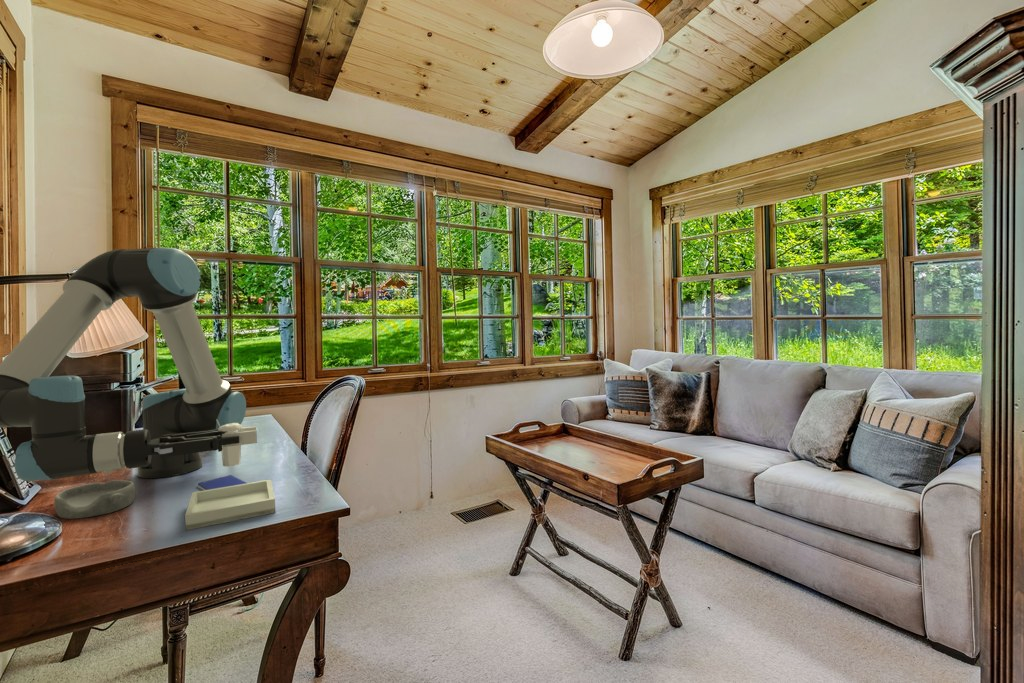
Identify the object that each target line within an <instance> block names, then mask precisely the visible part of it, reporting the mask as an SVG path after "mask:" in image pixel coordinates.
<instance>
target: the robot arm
mask: <svg viewBox="0 0 1024 683" xmlns="http://www.w3.org/2000/svg"><path fill="white" fill-rule="evenodd" d="M200 280H201V273H200V269H199V267H198V265H197V263H196V262H195V260H194V259H193V258H192V256H190V255H189V254H188V253H187V252H184V251H183V250H181V249H178V248H176V247H175V248H173V247H171V248H169V247H168V248H167V247H149V248H145V247H144V248H130V249H129V248H128V249H125V248H124V249H123V248H120V249H119V248H118V249H113V250H108V251H106V252H103V253H100V254H99V255H97V256H95V257H93V258H92V259H91V260H89V261H87V262H86V263H84V264H83V265H82V266H81V267H79V268H78V269H77V270H76V271H75V272H74V273H72V275H71V276H69V277H68V279H67V280H66V281H65V282H64V283H63V285H62V291H63V292H62V293H61V295H60V296H59V297H58V298H57V299H56V300H55V301H54V303H53V304H52V305H51V306H50V307H49V308H48V309H47V310H46V312H45V313H44V314H43V315H42V316H41V317H40V318H39V319H38V321H37V322H36V323H34V325H33V326H32V327H31V329H30V330H29V331H28V332H27V333H26V334H25V335H24V337H23V338H22V339H20V341H19V342H18V343H17V344H16V345H15V346H14V347H13V349H11V350H10V352H9V353H8V354H7V355H6V356H5V358H4V359H3V360H2V361H1V363H0V428H28V427H30V428H31V440H29V441H24V442H22V443H20V444H19V445H18V447H17V448H16V450H15V454H14V455H15V456H14V457H15V459H14V470H15V473H16V476H17V478H19V479H20V480H22V481H24V482H33V481H35V482H36V481H46V480H50V481H51V480H52V481H53V480H56V479H58V480H59V479H63V478H70V477H78V476H85V475H90V474H97V473H102V472H104V474H105V475H110V474H112V471H118V470H119V471H120V470H123V469H124V468H125V467H126V468H127V469H128V470H129V469H136V468H137V477H138V478H142V479H158V478H161V479H162V478H166V477H173V476H178V475H179V476H180V475H183V474H187V473H191V472H193V471H196V470H198V469H200V468H201V467H203V458H202V454H201V453H204V452H205V453H206V452H211V451H214V452H215V451H217V452H218V453H219V452H220V453H221V451H222V445H223V447H229V446H237V445H241V446H243V445H251V444H257V443H258V435H257V434H258V433H257V426H249V427H242V432H237V433H229V434H222V436H220V435H219V432H218V429H219V425H218V423H217V421H216V420H218V421H219V424H220V426H223V425H225V424H232V423H238V424H240V425H241V426H242V423H243V422H244V419H245V416H246V414H247V413H246V412H247V401H246V397H245V395H244V393H242V392H240V391H237V390H236V391H233V389H232V387H231V384H230V383H229V381H228V380H225V379H222V377H221V374H220V373H219V369H218V367H217V365H216V362H215V359H214V358H213V354H212V352H211V349H210V346H209V344H208V341H207V338H206V335H205V334H204V330H203V327H202V326H201V323H200V320H199V317H198V314H197V312H196V310H195V306H194V304H193V303H194V301H195V300H196V298H197V292H198V291H199V288H200V286H201V281H200ZM126 298H138V299H139V302H140V303H141V306H142V309H144V310H147V311H149V312H150V313H153V315H154V318H155V320H156V322H157V324H158V327H159V329H160V332H161V334H162V336H163V339H164V341H165V344H166V346H167V348H168V351H169V353H170V355H171V358H172V359H173V363H174V364H175V366H176V369H177V371H178V374H179V377H180V379H181V381H182V384H183V386H184V387H185V388H180V389H174V390H168V391H161V392H157V393H152V394H147V395H145V396H144V397H143V398H142V402H141V403H142V404H141V411H140V412H141V417H142V429H136V430H128V431H126V432H125V433H124V432H123V431H115V432H105V433H96V434H88V435H87V429H86V426H87V425H86V400H85V399H86V394H85V392H84V386H83V385H84V384H83V383H84V382H83V379H82V377H80V376H78V375H53V376H51V375H52V373H53V372H54V371H55V370H56V368H57V367H58V365H59V364H60V363H61V362H62V361H63V359H64V358H65V357H66V356H67V355H68V353H69V352H70V351H71V349H72V348H73V347H74V346H75V344H77V342H78V341H79V339H80V337H82V335H83V334H84V332H86V330H87V329H88V328H89V327H90V325H91V324H92V323H93V321H95V319H96V318H97V316H99V315H100V313H101V311H106V310H109V309H110V308H112V306H113V305H114V303H115V302H118V301H119V300H121V299H126Z"/></svg>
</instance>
